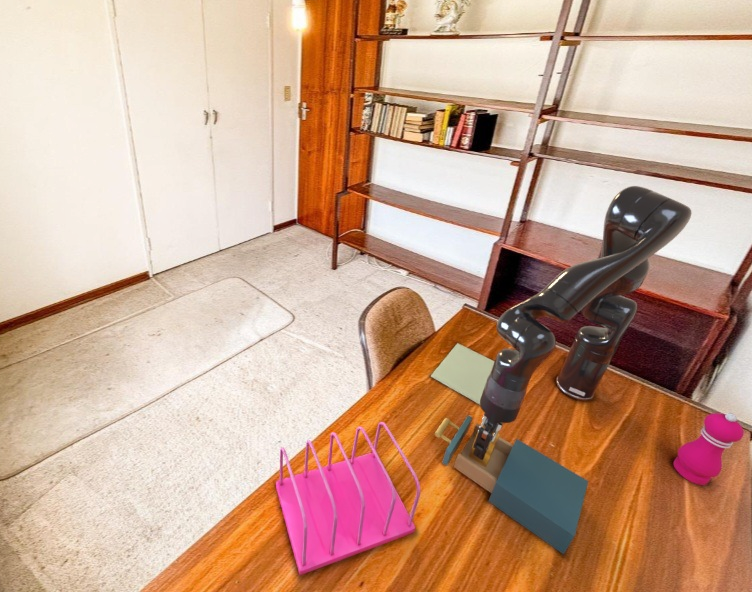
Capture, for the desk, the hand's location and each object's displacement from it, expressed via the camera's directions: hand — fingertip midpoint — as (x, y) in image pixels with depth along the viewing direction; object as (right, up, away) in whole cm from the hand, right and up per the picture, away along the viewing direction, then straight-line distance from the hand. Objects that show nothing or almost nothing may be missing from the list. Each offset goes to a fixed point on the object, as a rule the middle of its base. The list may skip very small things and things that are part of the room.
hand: (484, 444), depth 92 cm
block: (0, -5, +2) cm, 5 cm away
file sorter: (-34, -10, -7) cm, 36 cm away
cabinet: (+9, -10, -4) cm, 14 cm away
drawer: (-1, -5, +4) cm, 6 cm away
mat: (+9, +6, +30) cm, 32 cm away
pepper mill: (+51, -9, +3) cm, 52 cm away
